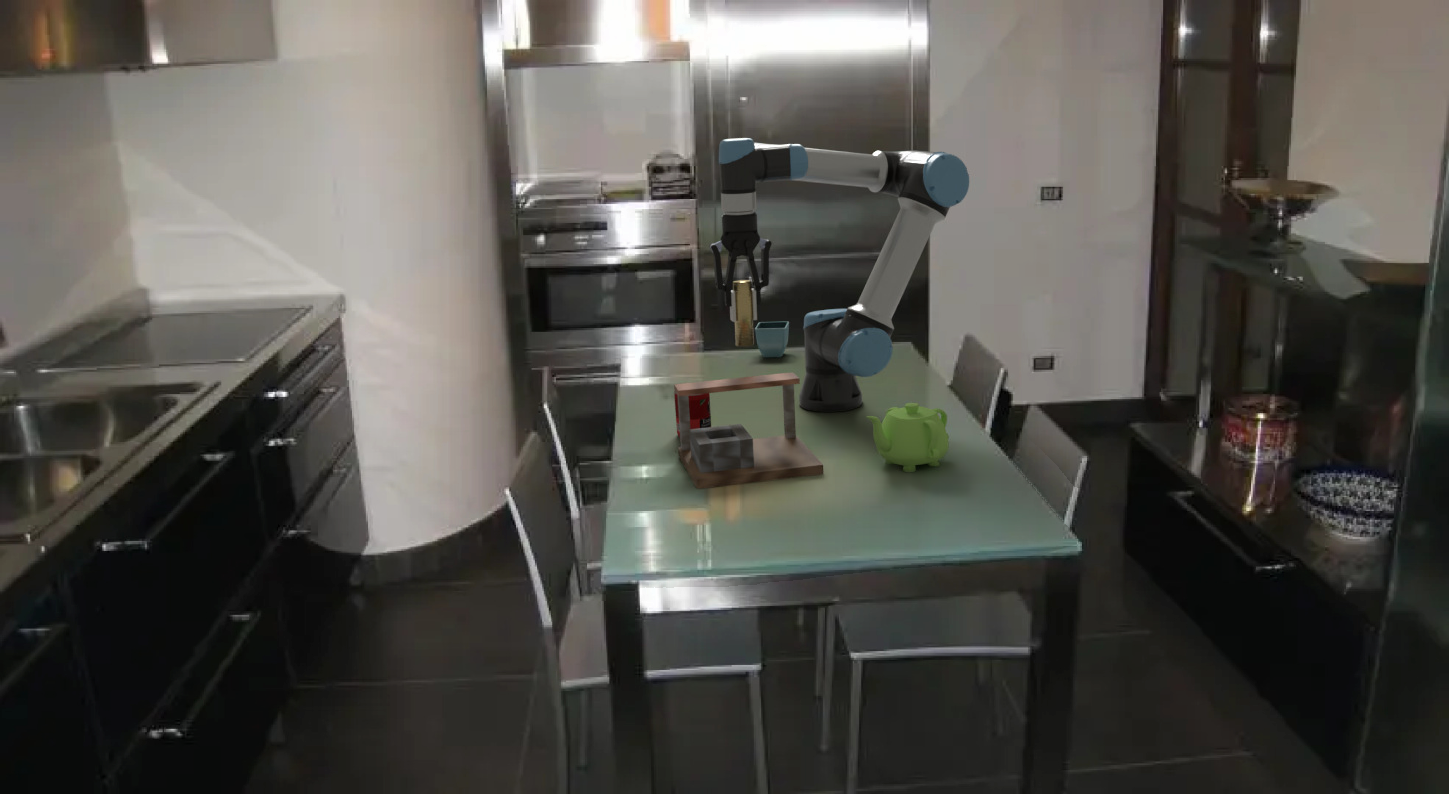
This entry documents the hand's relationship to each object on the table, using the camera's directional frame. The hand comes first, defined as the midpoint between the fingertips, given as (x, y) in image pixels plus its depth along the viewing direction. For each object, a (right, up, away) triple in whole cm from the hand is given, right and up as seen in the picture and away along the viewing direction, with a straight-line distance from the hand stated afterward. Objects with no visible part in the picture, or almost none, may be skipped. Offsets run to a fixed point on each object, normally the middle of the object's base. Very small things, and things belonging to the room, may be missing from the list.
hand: (743, 319), depth 269 cm
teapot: (+33, -31, -17) cm, 49 cm away
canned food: (-11, -26, +10) cm, 30 cm away
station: (+1, -31, -12) cm, 33 cm away
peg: (0, -5, +1) cm, 6 cm away
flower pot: (+10, -5, +80) cm, 81 cm away
